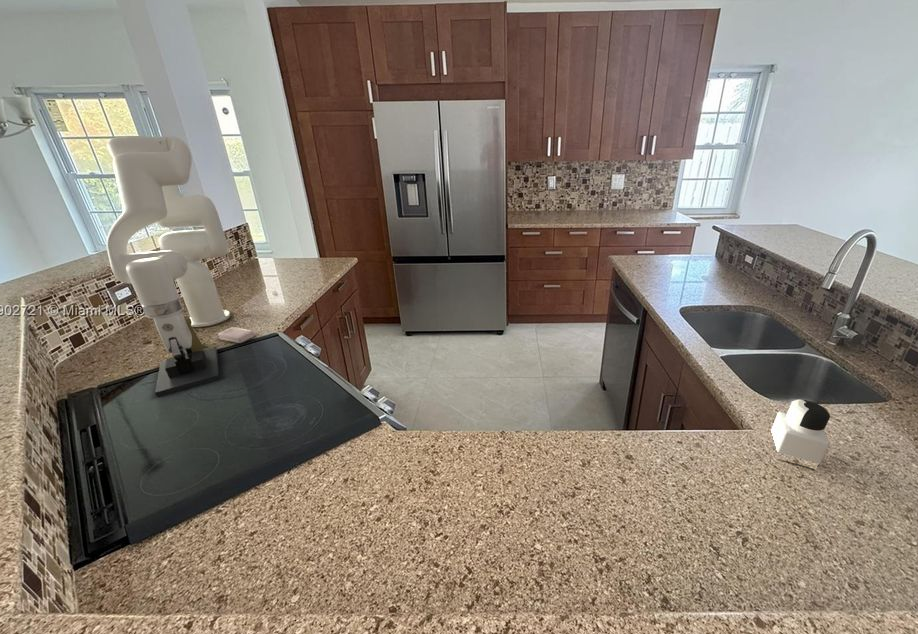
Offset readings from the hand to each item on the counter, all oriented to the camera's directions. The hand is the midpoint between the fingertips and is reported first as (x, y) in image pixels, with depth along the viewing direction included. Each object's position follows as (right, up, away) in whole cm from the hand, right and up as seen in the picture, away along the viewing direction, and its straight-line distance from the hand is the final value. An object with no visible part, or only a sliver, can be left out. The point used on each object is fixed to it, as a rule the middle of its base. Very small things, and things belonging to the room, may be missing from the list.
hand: (187, 366), depth 102 cm
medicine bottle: (+147, -14, -25) cm, 149 cm away
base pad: (0, -2, +1) cm, 2 cm away
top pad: (0, 0, 0) cm, 1 cm away
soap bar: (+1, +6, +18) cm, 19 cm away
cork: (-9, +3, +12) cm, 15 cm away
